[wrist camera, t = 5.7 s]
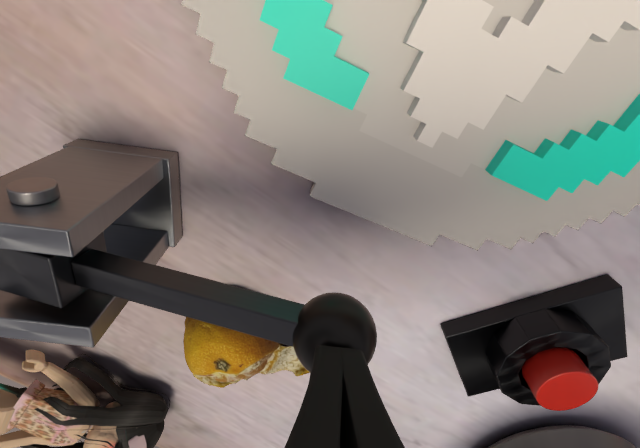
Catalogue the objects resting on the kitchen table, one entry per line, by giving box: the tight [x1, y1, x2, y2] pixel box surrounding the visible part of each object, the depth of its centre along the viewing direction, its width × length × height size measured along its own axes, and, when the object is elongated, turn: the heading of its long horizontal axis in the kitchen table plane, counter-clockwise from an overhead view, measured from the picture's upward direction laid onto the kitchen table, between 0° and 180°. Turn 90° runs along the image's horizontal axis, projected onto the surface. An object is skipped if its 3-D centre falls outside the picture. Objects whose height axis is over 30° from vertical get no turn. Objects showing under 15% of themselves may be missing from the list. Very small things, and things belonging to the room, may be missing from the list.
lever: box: [0, 232, 377, 373], centre depth 13 cm, size 14×3×3 cm, turn 83°
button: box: [522, 347, 598, 411], centre depth 20 cm, size 3×3×2 cm
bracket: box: [0, 139, 182, 347], centre depth 16 cm, size 5×6×8 cm
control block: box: [441, 275, 627, 406], centre depth 22 cm, size 10×6×3 cm, turn 114°
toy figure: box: [0, 350, 170, 448], centre depth 24 cm, size 7×6×15 cm
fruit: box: [183, 317, 309, 387], centre depth 22 cm, size 8×8×4 cm
